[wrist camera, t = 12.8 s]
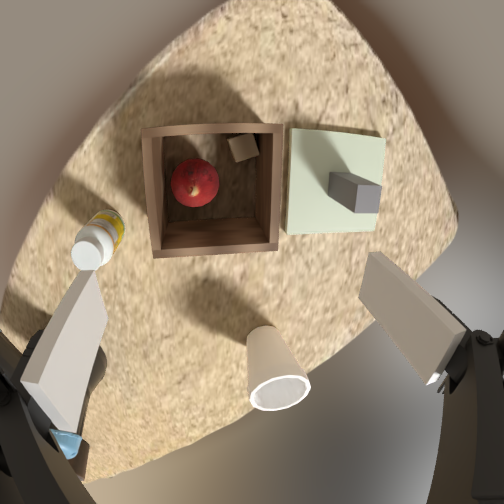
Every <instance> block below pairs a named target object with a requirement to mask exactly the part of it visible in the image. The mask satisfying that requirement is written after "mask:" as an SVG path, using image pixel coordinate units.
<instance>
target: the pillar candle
mask: <svg viewBox="0 0 504 504" xmlns="http://www.w3.org/2000/svg"><path fill="white" fill-rule="evenodd" d="M89 447H90V446H89V444H88V443H87V442H85V441H84V440H83V439H82V440H81V442H80V446H79V449H78V453H77V455H76V456H75V457H74V458H72V459H67V460H68V462H69V463H70V465H71V467H72V468H73V470H74V472H75V473H76V475H77V476H78V478H79V479H80V481H84V479H85V473H86V466H87V459H88V453H89Z"/></svg>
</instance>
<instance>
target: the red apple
mask: <svg viewBox="0 0 504 504" xmlns="http://www.w3.org/2000/svg"><path fill="white" fill-rule="evenodd" d="M170 184H171V189H172V193H173V195H174V197H175V198H176V200H177V201H178V202H180V203H181V204H183V205H184V206H189V207H199V206H203V205H205V204H207V203H209V202H211V200H212V199H213V198H214V197H215V196H216V195H217V191H218V188H219V176H218V174H217V171H216V169H215V168H214V167H213V166H212V165H211V164H210V163H209V162H207V161H205V160H202V159H199V158H196V159H187V160H186V161H184V162H182V163H181V164H179V165H178V166H177V168H176V169H175V171H174V172H173V174H172V179H171V183H170Z"/></svg>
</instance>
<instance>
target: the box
mask: <svg viewBox="0 0 504 504" xmlns="http://www.w3.org/2000/svg"><path fill="white" fill-rule="evenodd" d="M210 133H257V139H256V145H257V148H258V151H259V154H260V155H258V156H256V198H255V217H246V218H225V219H207V220H190V221H175V222H169V217H168V206H167V193H166V179H165V161H164V136H175V135H189V134H210ZM141 136H142V157H143V172H144V184H145V195H146V205H147V214H148V223H149V231H150V239H151V246H152V253H153V259H154V258H170V257H186V256H202V255H218V254H234V253H249V252H265V251H278V240H279V222H280V201H281V178H282V150H283V124H269V123H212V124H190V125H175V126H163V127H153V128H144V129H141Z"/></svg>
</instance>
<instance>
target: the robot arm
mask: <svg viewBox="0 0 504 504" xmlns="http://www.w3.org/2000/svg"><path fill="white" fill-rule="evenodd" d="M358 298H359V299H360V300H361V302H362V303H363V304H364V305H365V307H366V308H367V309H368V310H369V312H370V313H371V314H372V315H373V317H374V318H375V319H376V320H377V321H378V323H379V324H380V325H381V327H382V328H383V329H384V330H385V332H386V333H387V334H388V336H389V337H390V338H391V339H392V341H393V342H394V343H395V345H396V346H397V347H398V348H399V350H400V351H401V352H402V354H403V355H404V356H405V358H406V359H407V360H408V362H409V363H410V364H411V366H412V367H413V368H414V370H415V371H416V373H417V374H418V375H419V376H420V378H421V379H422V381H423V382H424V383H425V385H428V384H430V383H432V382H435V381H437V380H438V379H439V378H440V376H441V375H442V373H443V371H444V370H445V371H446V372H447V373H448V375H447V376H446V378H445V379H444V381H443V382H442V384H441V386H440V387H439V389H438V393H439V392H440V391H441V390H442V388H443V387H445V389H444V391H443V393H442V394H444V406H443V417H442V426H441V435H440V442H439V448H438V455H437V460H436V465H435V470H434V475H433V480H432V484H431V488H430V492H429V496H428V500H427V503H426V504H504V379H503V377H502V376H503V375H504V330H503V332H502V334H501V336H500V337H499V338H492V337H491V335H489V334H488V333H487V332H484V331H482V330H475V331H473V332H472V331H471V330H470V329H469V328H468V327H467V326H466V325H465V324H464V323H463V322H462V321H461V320H460V319H459V318H458V317H457V316H456V315H455V314H452V311H450V310H449V309H448V308H447V307H446V306H445V305H444V304H443V303H442V302H441V301H440V300H438V299H436V298H435V297H433V296H431V295H430V294H429V293H428V292H427V291H425V290H424V289H423V288H422V287H421V286H420V285H419V284H418V283H417V282H416V281H414V280H413V279H412V278H411V277H410V276H409V275H408V274H406V273H405V272H404V271H403V270H402V269H401V268H400V267H398V266H397V265H396V264H395V263H394V262H392V261H391V260H390V259H389V258H388V257H387V256H385V255H384V254H383V253H382V252H369V253H368V258H367V263H366V267H365V272H364V276H363V281H362V285H361V289H360V293H359V297H358ZM107 321H108V316H107V312H106V309H105V306H104V303H103V299H102V296H101V292H100V289H99V285H98V282H97V278H96V274H95V270H81V271H80V272H79V273H78V275H77V276H76V278H75V279H74V281H73V283H72V284H71V286H70V287H69V289H68V290H67V292H66V294H65V295H64V297H63V299H62V300H61V302H60V304H59V305H58V307H57V309H56V310H55V312H54V314H53V316H52V317H51V319H50V321H49V323H48V325H47V326H46V328H45V329H44V330H39V331H38V332H37V333H36V334H35V335H34V336H33V337H32V338H31V339H30V341H29V343H28V345H27V347H26V349H25V350H24V352H23V354H22V353H21V352H20V351H19V350H18V349H17V348H16V347H15V346H14V345H13V344H12V343H11V342H10V341H9V340H8V338H7V337H6V336H5V335H4V334H3V333H2V330H1V329H0V504H96V502H95V501H94V500H93V498H92V497H91V496H90V494H89V493H88V491H87V490H86V488H85V487H84V485H83V484H82V482H81V481H80V479H79V478H78V476H77V475H76V473H75V472H74V470H73V468H72V467H71V465H70V463H69V462H68V460H67V459H72V458H74V457H75V456H76V455H77V453H78V449H79V446H80V442H81V440H82V431H83V426H84V421H85V416H86V411H87V407H88V402H89V398H90V395H91V393H92V392H93V390H94V389H95V388H96V386H97V385H98V383H99V382H100V381H101V380H102V379H103V377H104V375H105V371H106V367H107V359H106V356H105V354H104V352H103V350H102V348H101V347H100V346H99V345H100V342H101V338H102V335H103V332H104V330H105V327H106V324H107Z"/></svg>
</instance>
